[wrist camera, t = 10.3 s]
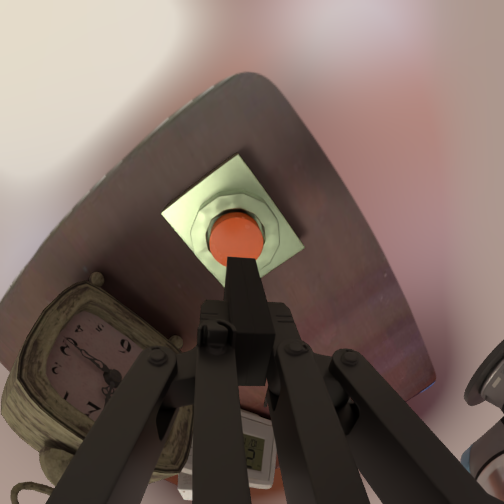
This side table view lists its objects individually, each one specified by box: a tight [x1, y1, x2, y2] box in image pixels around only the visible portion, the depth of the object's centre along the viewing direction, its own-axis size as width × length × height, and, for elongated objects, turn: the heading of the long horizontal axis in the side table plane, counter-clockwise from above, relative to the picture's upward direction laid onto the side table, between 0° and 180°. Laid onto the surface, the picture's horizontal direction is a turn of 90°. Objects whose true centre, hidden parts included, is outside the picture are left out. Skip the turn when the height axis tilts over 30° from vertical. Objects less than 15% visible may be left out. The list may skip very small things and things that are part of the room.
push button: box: [209, 212, 264, 266], centre depth 23 cm, size 4×4×2 cm
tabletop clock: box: [1, 272, 194, 504], centre depth 18 cm, size 14×9×25 cm, turn 43°
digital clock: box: [181, 409, 277, 489], centre depth 32 cm, size 16×9×11 cm, turn 42°
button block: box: [161, 153, 305, 288], centre depth 25 cm, size 10×8×4 cm
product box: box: [178, 472, 192, 500], centre depth 39 cm, size 6×6×7 cm
